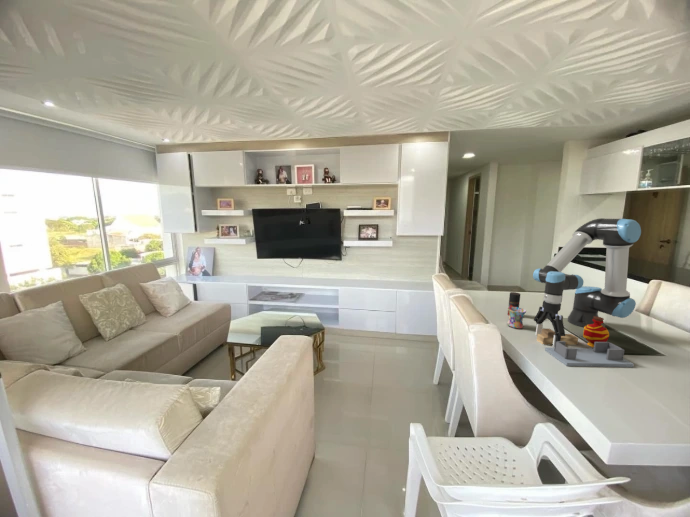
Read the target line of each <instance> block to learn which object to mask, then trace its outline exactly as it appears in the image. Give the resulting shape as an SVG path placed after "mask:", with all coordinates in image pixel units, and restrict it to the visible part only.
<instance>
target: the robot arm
mask: <svg viewBox="0 0 690 517" xmlns="http://www.w3.org/2000/svg"><path fill="white" fill-rule="evenodd" d="M641 234H642V229H641V225H640V223H639V222H637V220H634V219H631V218H630V219H628V218H627V219H626V218H595V219H592V220H590V221H588V222H586V223H584V224H582V225H580V227H578V228H577V229H576V230H575V231H574V232H573V233H572V237H571V238H570V239H569V240H568V241H567V242H566V243H565V245H564V246H563V247H562V248H561V249H560V250H559V251H558V252H557V253H555V255H554V256H553V257H552V258H551V259H550V261H549V262H548V263H547V264H546V265H545V266H544V267H543V268H536V269H534V271H533V274H532V278H533V280H534V281H536V282H538V283H542V284H544V294H543V301H542V306H539V308H538V312H537V313H536V315H535V317H534V318H533V321H534V322H535V323H536V325H535V328H536V329H535V336H536V337H537V335H538V334H541V333H542V329H543V323H544V322H545V321H546V320H547V319H548V320H549V322H550V323H551V325H552V329H553V331H555V334H554V338H553V345H552V346H551V348H554V347H555V341H560V340H561V336H565V334H566V331H565V325H564V315H560V314H559V312H560V311H561V309H562V308H561V307H562V301H563V293H564V291H570V290H572V291H573V290H574V291H575V292H574V299H573V306H572V310H571V311H570V314H569V315H568V316H567V322H569V324H572V325H573V326H574V325H575V326H576V327H577V326H578V327H582V328H584V327H585V326H587V325H588V324H594V322H593V320H592V319H594V317H593V316H597V317H599V312H600V313H603V314H605V315H606V314H607V315H609V316H612V317H617V318H622V319H624V318H627V317H629V316H631V314H632V313H633V312H634V310H635V308H636V305H637V304H636V300H635V299H634V298H632V297H631V293H630V292H629V291H628V290H627V284H628V269H629V254H630V253H629V252H630V248H631V247H632V246H634V245H635V244H634V243H636V242H637V241H638V240H639V239H640V237H641ZM596 240H597V241H598V240H599V241H601V240H602V245H603V246H604V247H605V248H606V252H605V253H606V254H605V269H604V270H605V273H604V274H605V275H604V288H603V289H602V288H601V287H598V286H588V285H587V286H584V279H583V277H582V276H581V275H579V274H569V273H568V274H567V273H564V272H562V271H563V270H564V269H565V268H566V267H567V266H568V265H569V264H570V263H571V262H572V261H573V260H574V259H575V257H576V256H577V255H578V254H579V253H580V252H581V251H582V250H583V249H584V248H585V247H586V246H587V245H589V244H591V243H592V242H593V241H596Z"/></svg>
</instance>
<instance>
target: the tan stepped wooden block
mask: <svg viewBox="0 0 690 517" xmlns="http://www.w3.org/2000/svg"><path fill="white" fill-rule="evenodd" d="M554 334H555V331H554V329H551V328H542V333H541V334H538V335H537V336H536V341H537V342H538V343H540V344H542V345H543V344H545V346H546V345H548V344H553V338H554ZM560 341H565V342H566V344H565V346H566V345H567V346H569V345H573V346H574V345H578V342H579V337H578V336H575V335H574V334H572V333H565V336H561V340H560Z"/></svg>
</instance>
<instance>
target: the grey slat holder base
mask: <svg viewBox="0 0 690 517" xmlns="http://www.w3.org/2000/svg"><path fill="white" fill-rule="evenodd" d="M565 344H566V342H565V341H555V347H544V351H545V352H546V353H548V354H549V355H551V356H552V357H553V358H554V359H556V360H557V361H559V363H561V364H563V365H564V366H566V367H597V368H598V367H599V368H600V367H601V368H602V367H603V368H604V367H605V368H608V367H609V368H634V363H632V362H631V361H629V360H627V359H625V358H624V355H625V349H624V348H622V347H620V346H618V345H616V344H614V343H612V342H610V341H607V342H595V343H594V347H588V348H587V347H586V348H585V347H567V346H566V345H565Z"/></svg>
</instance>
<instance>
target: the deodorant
mask: <svg viewBox="0 0 690 517" xmlns="http://www.w3.org/2000/svg"><path fill="white" fill-rule="evenodd" d="M508 298H509V299H508V307H518V308H520V300H521V293H519V292H515V291H513V292H512V291H510V292H509V297H508ZM508 307H507V308H508ZM507 316H509V310H508V309H507Z"/></svg>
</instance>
